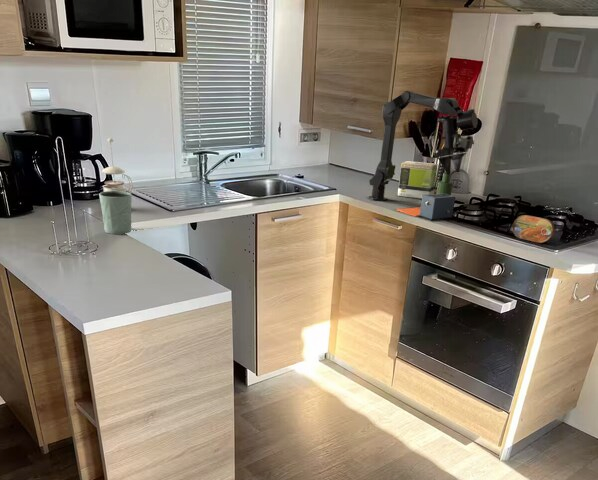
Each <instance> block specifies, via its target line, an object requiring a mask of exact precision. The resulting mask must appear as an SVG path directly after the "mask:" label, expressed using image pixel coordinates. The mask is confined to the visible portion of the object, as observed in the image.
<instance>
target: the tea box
mask: <svg viewBox="0 0 598 480" xmlns="http://www.w3.org/2000/svg"><path fill="white" fill-rule="evenodd" d="M438 166H439V164H438V163H432V162H421V161H410V160H406V161H403V162H401V165H400V172H399V179H398V180H399V181H398V190H397V196H398V197H405V198H413V199H420V200H422V195H427V194H435V187H436V180H437V175H438Z"/></svg>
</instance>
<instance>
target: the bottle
mask: <svg viewBox="0 0 598 480" xmlns="http://www.w3.org/2000/svg"><path fill="white" fill-rule="evenodd" d="M450 179H451V173H450V174H449V175H448V174H447V173H446V172H443V174H442V179H441V180H438V181H437V186H436V193H435V194H439V193H444V194H448V195H451V196H452V191H453V184H454V182H453V181H451V180H450Z"/></svg>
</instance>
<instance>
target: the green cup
mask: <svg viewBox="0 0 598 480" xmlns="http://www.w3.org/2000/svg"><path fill="white" fill-rule="evenodd" d="M132 196H133V194H132V192H130V193H129V191H126V192H122V191H106V192H105V191H101V192H100V193H99V194H98V197H99V202H100V208H101V213H102V222H103V228H104V232H105V233H107V234H112V235H125V234H128V233H131V232H132V202H133V200H132V199H133V197H132Z"/></svg>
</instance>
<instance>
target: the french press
mask: <svg viewBox="0 0 598 480" xmlns="http://www.w3.org/2000/svg"><path fill="white" fill-rule="evenodd" d="M108 142H109V143H110V145H112V143H114V139H113V138H112V137H109V138H108V139H107V143H108ZM110 154H111V156H113V150H112V148H110ZM111 164H112V166H107V167H105V168H103V169H102V170H101V173H103V174H105V175H113V177H115V175H121V177H122V179H124V180H125V179H126V178H127V180H128V182H129V185H130V186H129V187H128V190H127V188H126V186H124V185H125V182H124V181H121V180H106V181H104V184H105V185H104V186H103V190H104V191H103V192H106V191H122V192H128V193H132V190H133V187H131V186H133V181H132V179H131V177H130V176H128V175H127V174H125V172H126V171H125V170H124V169H122V168H120V167H118V166H115V165H114V161H113V158H111Z"/></svg>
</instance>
